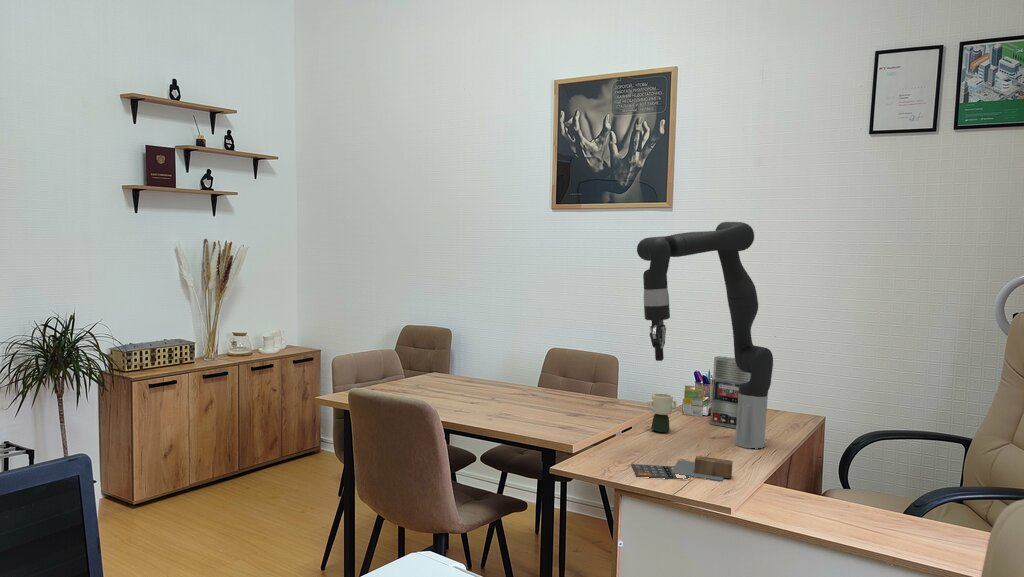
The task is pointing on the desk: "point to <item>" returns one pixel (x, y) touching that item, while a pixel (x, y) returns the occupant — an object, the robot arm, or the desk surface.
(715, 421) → the cassette tape recorder
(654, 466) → the calculator
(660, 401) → the character mug
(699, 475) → the mat
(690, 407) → the crayon box
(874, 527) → the desk surface
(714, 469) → the block
